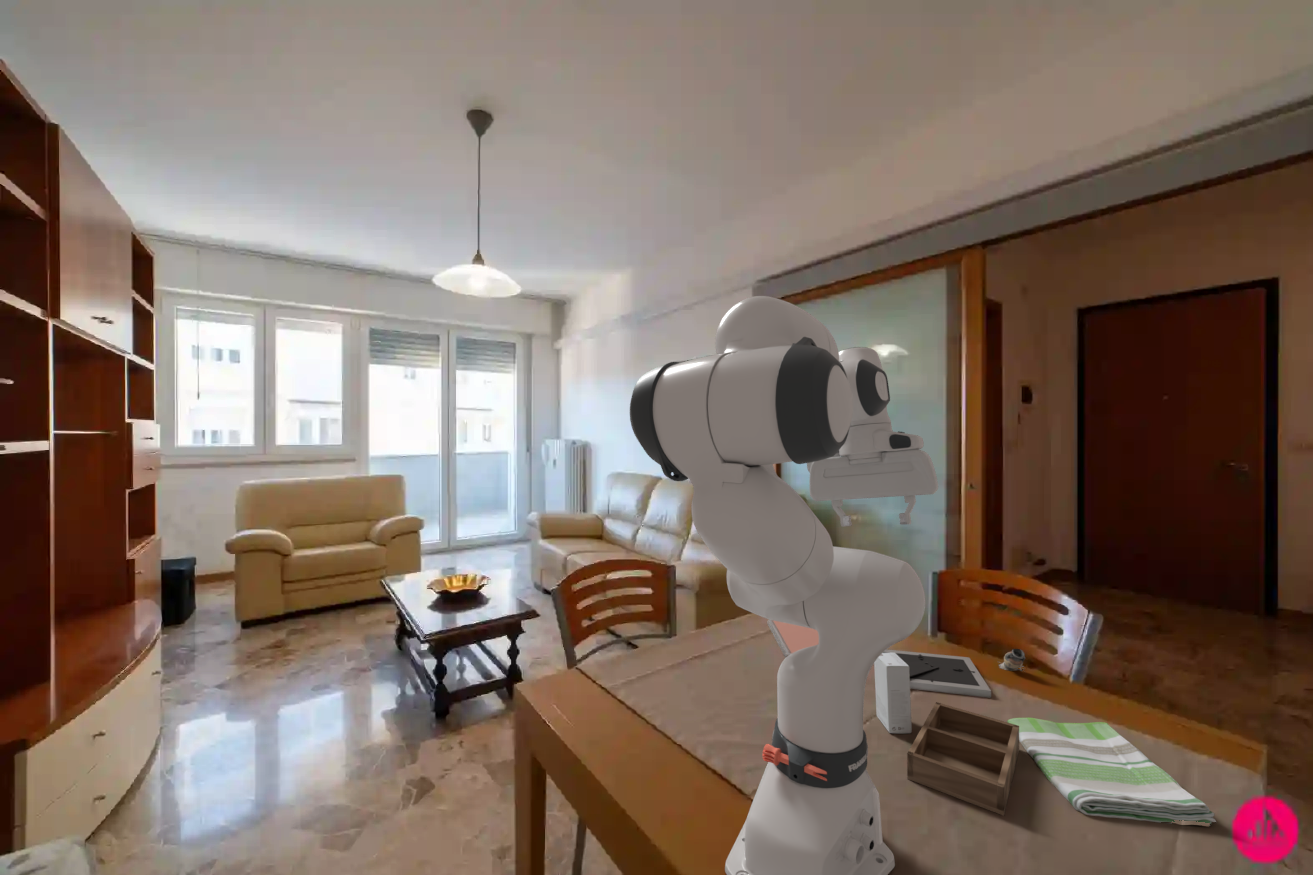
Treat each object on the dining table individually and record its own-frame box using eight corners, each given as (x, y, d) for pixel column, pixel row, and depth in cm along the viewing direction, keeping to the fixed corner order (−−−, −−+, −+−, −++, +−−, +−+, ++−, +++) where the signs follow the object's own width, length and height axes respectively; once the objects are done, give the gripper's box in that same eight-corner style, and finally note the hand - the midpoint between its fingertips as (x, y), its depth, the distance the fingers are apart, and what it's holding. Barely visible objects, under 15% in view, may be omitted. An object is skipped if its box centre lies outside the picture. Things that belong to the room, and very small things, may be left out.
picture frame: (879, 687, 112) (991, 701, 106) (879, 674, 112) (991, 686, 106) (871, 656, 127) (969, 666, 121) (871, 644, 127) (969, 654, 121)
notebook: (765, 622, 150) (765, 615, 150) (825, 622, 150) (825, 614, 149) (788, 666, 123) (788, 657, 123) (861, 665, 122) (861, 656, 122)
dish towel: (1075, 817, 75) (1075, 792, 74) (1003, 726, 97) (1003, 707, 97) (1221, 834, 71) (1221, 808, 71) (1111, 735, 94) (1111, 715, 94)
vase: (1034, 680, 113) (1032, 652, 113) (1005, 679, 115) (1002, 651, 114) (1025, 668, 118) (1022, 642, 118) (997, 667, 120) (995, 641, 120)
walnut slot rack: (1003, 815, 74) (1003, 787, 74) (907, 778, 82) (907, 753, 82) (1019, 749, 89) (1019, 725, 89) (936, 723, 97) (936, 701, 97)
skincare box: (913, 733, 94) (912, 666, 94) (887, 734, 94) (887, 666, 94) (897, 715, 100) (897, 651, 100) (873, 715, 100) (873, 651, 100)
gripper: (799, 450, 94) (808, 529, 92) (928, 435, 83) (940, 525, 81) (810, 450, 99) (818, 525, 98) (932, 437, 88) (944, 521, 87)
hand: (875, 525), depth 89 cm, fingers open, 8 cm apart
